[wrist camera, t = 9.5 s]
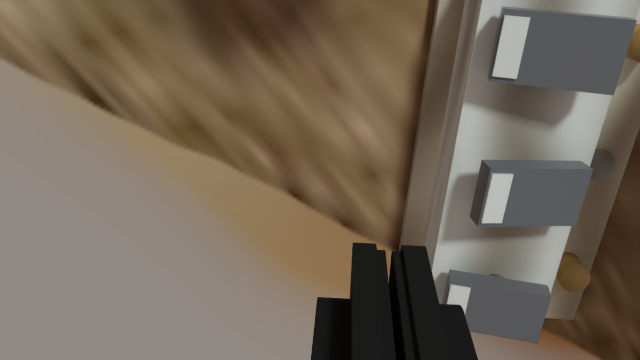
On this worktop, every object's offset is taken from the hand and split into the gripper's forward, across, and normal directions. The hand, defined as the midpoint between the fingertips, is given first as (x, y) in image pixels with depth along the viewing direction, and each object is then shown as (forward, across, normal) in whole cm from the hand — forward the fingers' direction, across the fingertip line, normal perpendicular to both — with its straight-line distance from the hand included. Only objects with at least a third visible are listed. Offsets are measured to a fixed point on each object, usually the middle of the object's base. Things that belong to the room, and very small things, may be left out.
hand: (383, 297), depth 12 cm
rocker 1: (+18, -10, -3) cm, 21 cm away
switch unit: (+24, -11, +5) cm, 27 cm away
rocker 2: (+18, -9, +5) cm, 21 cm away
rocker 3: (+18, -9, +13) cm, 24 cm away
